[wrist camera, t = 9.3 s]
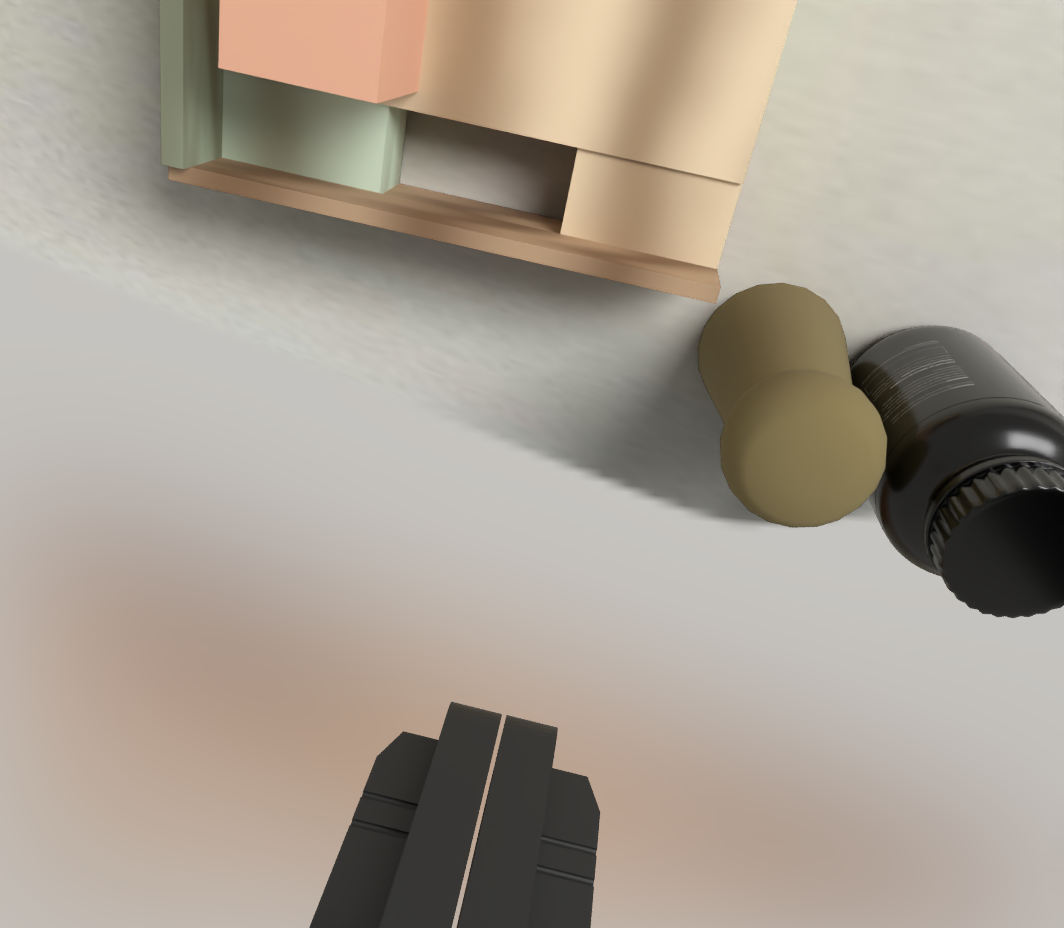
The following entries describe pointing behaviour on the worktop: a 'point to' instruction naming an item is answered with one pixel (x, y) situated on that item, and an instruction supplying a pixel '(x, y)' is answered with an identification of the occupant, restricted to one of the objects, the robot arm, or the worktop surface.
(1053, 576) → the supplement bottle
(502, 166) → the worktop surface
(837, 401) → the cork
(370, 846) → the robot arm
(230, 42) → the block
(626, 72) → the wooden organizer box
